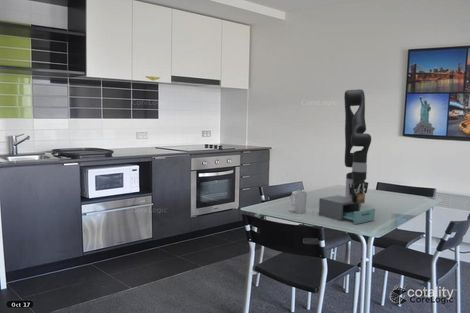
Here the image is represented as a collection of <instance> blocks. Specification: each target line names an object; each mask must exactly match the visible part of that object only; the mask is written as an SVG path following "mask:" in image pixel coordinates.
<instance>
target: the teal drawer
mask: <svg viewBox="0 0 470 313" xmlns="http://www.w3.org/2000/svg"><path fill="white" fill-rule="evenodd" d="M375 212H376V208H369V209H363V210H360V211H355V212H350V211H348V212H343V218H346V219H347V220H351V221H353V224H354V225H358V224H363V223H367V222H371V221H375V215H376V214H375Z"/></svg>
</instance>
